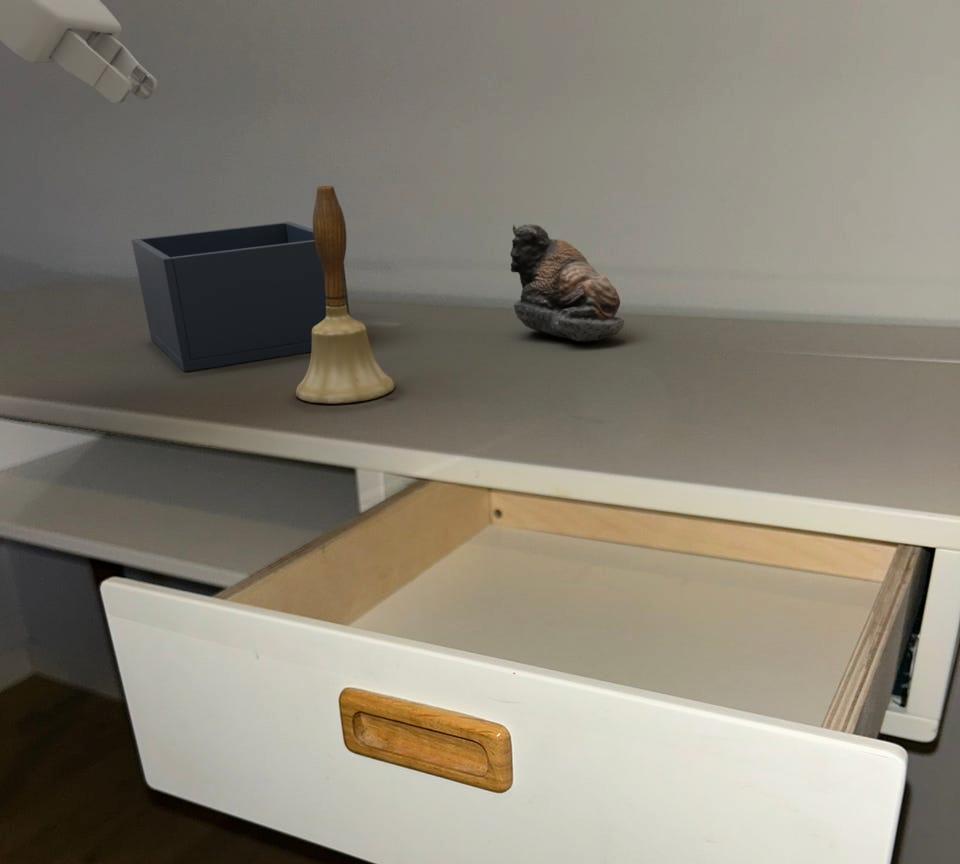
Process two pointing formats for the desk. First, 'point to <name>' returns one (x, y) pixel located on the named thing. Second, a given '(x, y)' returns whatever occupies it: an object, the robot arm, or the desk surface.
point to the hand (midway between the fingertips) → (139, 94)
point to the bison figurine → (561, 289)
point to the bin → (232, 293)
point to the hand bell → (338, 323)
